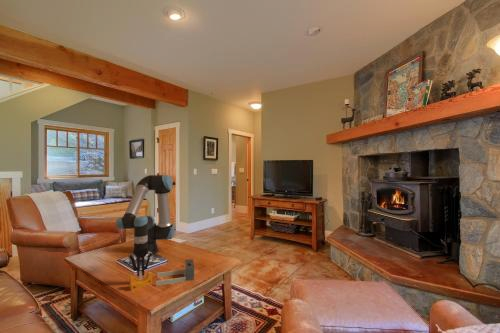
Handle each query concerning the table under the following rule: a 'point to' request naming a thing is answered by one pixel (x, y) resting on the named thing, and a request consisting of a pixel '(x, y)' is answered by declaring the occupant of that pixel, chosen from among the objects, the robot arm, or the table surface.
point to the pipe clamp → (140, 282)
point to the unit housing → (189, 269)
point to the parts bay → (170, 281)
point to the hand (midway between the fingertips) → (140, 280)
